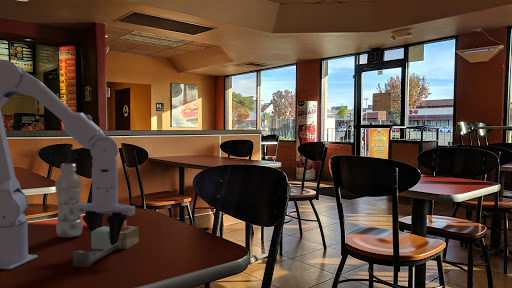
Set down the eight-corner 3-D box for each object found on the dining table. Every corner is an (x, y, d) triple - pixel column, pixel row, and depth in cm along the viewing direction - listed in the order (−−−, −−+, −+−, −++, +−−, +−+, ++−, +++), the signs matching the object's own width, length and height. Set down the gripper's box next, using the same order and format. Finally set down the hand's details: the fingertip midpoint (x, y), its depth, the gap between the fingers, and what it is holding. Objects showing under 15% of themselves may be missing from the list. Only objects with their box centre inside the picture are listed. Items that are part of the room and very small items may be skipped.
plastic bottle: (72, 241, 101) (71, 165, 100) (50, 239, 103) (48, 164, 101) (88, 234, 107) (87, 163, 106) (66, 232, 109) (65, 162, 108)
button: (111, 238, 97) (111, 222, 97) (118, 234, 100) (118, 219, 100) (122, 238, 97) (122, 223, 97) (128, 235, 100) (128, 220, 100)
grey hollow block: (101, 247, 96) (101, 231, 96) (114, 240, 102) (114, 225, 102) (126, 249, 95) (126, 233, 95) (138, 241, 101) (138, 226, 101)
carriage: (91, 248, 90) (90, 231, 90) (103, 242, 95) (103, 225, 95) (106, 249, 89) (106, 232, 89) (118, 243, 94) (118, 226, 94)
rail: (73, 266, 83) (72, 251, 83) (107, 247, 96) (107, 234, 96) (87, 267, 83) (87, 252, 83) (120, 248, 95) (120, 235, 95)
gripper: (141, 185, 94) (141, 240, 95) (88, 183, 97) (89, 236, 98) (126, 190, 87) (126, 249, 88) (69, 187, 90) (70, 245, 91)
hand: (105, 243), depth 92 cm, fingers closed on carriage, 4 cm apart
